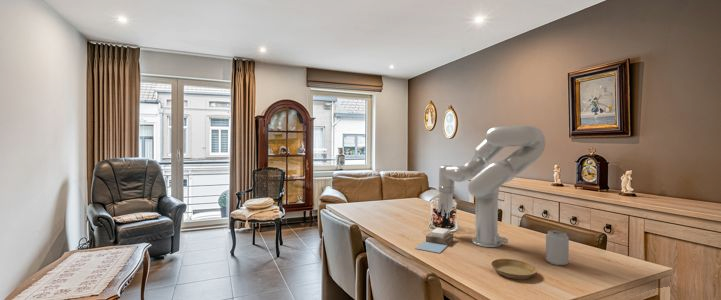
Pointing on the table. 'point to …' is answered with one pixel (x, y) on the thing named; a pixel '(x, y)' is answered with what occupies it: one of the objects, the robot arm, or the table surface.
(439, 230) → the tile
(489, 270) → the table surface
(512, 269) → the plant saucer
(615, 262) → the table surface
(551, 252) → the can
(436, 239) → the step
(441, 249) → the mat
